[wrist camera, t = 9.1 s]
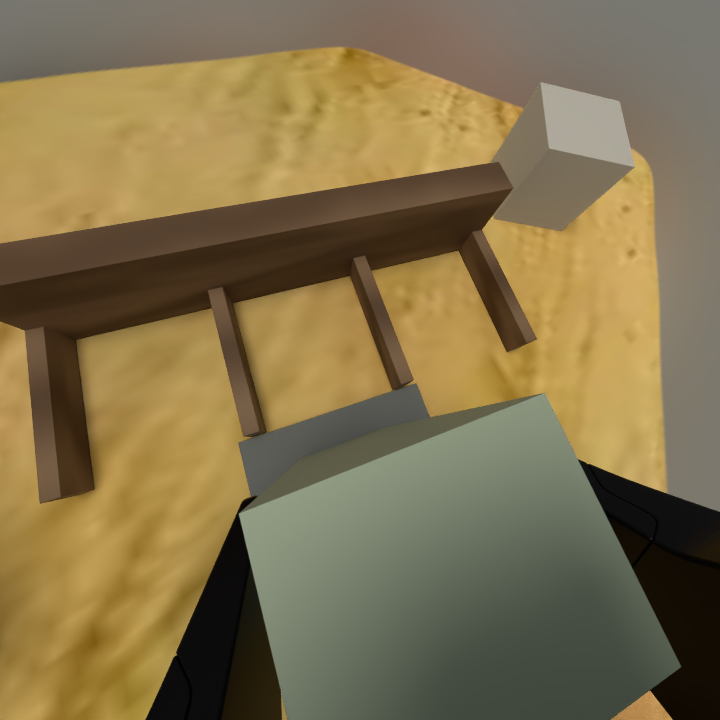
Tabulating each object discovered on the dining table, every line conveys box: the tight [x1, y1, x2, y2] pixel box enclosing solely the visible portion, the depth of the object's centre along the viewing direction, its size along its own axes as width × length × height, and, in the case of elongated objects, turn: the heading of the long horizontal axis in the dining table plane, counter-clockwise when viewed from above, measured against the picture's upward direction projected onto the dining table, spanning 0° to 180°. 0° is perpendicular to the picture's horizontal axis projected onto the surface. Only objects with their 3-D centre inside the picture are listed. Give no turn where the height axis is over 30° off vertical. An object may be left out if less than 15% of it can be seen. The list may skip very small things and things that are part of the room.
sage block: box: [239, 393, 681, 720], centre depth 10 cm, size 4×5×13 cm
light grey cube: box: [491, 82, 635, 231], centre depth 22 cm, size 6×6×6 cm
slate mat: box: [238, 384, 430, 497], centre depth 16 cm, size 9×11×1 cm
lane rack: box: [0, 162, 537, 504], centre depth 16 cm, size 10×27×6 cm, turn 109°
